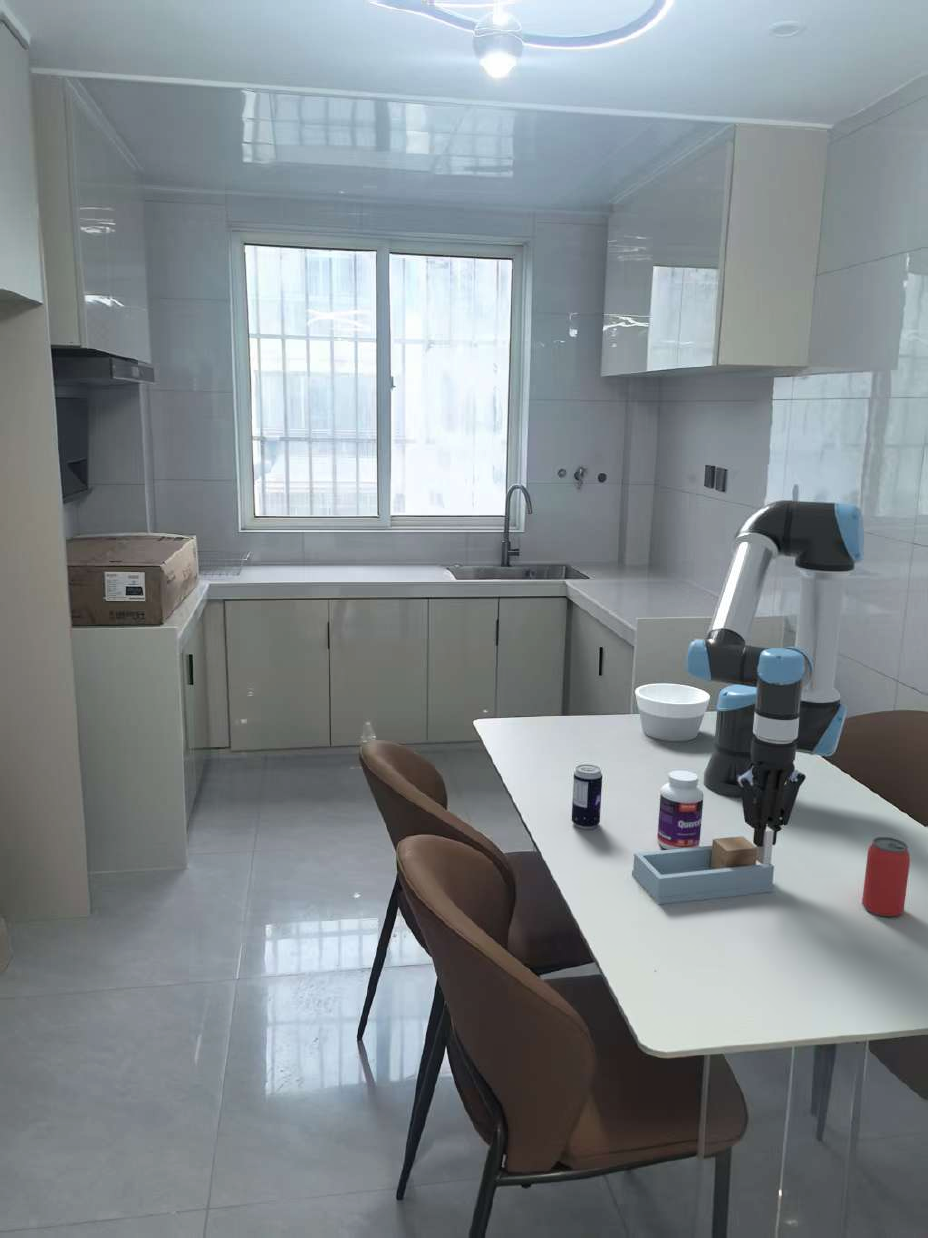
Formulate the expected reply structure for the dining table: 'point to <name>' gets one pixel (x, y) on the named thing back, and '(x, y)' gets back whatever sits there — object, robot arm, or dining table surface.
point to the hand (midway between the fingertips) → (762, 861)
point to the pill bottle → (680, 811)
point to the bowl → (671, 710)
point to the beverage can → (586, 796)
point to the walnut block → (732, 853)
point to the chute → (696, 876)
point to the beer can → (886, 877)
